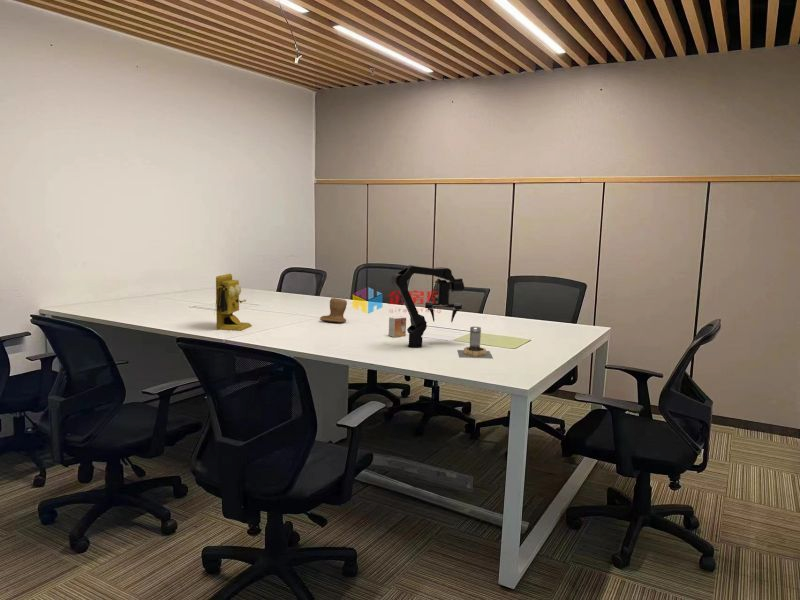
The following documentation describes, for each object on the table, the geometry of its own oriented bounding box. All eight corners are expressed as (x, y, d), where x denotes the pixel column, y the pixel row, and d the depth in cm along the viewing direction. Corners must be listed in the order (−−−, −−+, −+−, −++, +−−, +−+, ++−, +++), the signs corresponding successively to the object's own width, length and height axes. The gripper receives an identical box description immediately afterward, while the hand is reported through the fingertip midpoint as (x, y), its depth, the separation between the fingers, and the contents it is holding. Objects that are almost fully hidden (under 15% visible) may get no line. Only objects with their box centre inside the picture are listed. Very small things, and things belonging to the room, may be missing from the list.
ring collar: (464, 356, 282) (464, 351, 282) (463, 351, 292) (463, 346, 292) (486, 356, 282) (486, 351, 281) (484, 352, 292) (484, 347, 292)
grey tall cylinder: (472, 355, 284) (473, 328, 282) (467, 353, 288) (468, 326, 286) (482, 354, 286) (483, 328, 284) (476, 352, 290) (477, 326, 289)
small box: (394, 337, 324) (394, 318, 323) (388, 335, 329) (388, 317, 327) (406, 336, 329) (406, 317, 327) (400, 334, 333) (400, 316, 332)
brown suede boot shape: (350, 321, 370) (350, 297, 368) (341, 324, 359) (341, 299, 357) (328, 319, 376) (329, 295, 374) (319, 322, 365) (319, 298, 363)
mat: (459, 358, 279) (459, 357, 279) (457, 351, 295) (457, 349, 295) (493, 359, 279) (493, 358, 279) (489, 352, 295) (489, 351, 295)
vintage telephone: (234, 334, 322) (233, 278, 318) (209, 332, 324) (209, 277, 320) (256, 324, 353) (256, 273, 349) (234, 322, 355) (234, 272, 351)
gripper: (461, 290, 313) (459, 319, 315) (425, 289, 314) (424, 318, 316) (462, 293, 302) (461, 323, 304) (425, 292, 303) (424, 322, 305)
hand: (442, 321), depth 308 cm, fingers open, 9 cm apart
